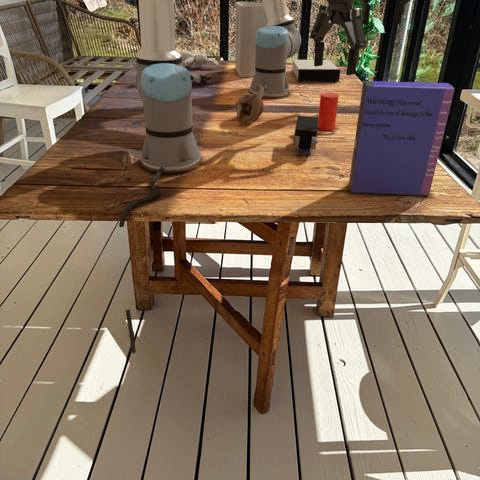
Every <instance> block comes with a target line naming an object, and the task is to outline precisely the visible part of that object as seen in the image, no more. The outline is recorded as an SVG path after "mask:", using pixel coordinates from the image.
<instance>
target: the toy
mask: <svg viewBox="0 0 480 480" xmlns="http://www.w3.org/2000/svg"><path fill="white" fill-rule="evenodd" d="M178 52H179V53H180V54H181V55H182V67H184V68H186V67H187V66H191V65H192V64H194V67H197V69H198V68H199V69H200V68H202V65H207V63H210V64H213V65H214V66H215V67H218V66H219V65H220V63H219V62H218V61H217V60H216V59H214V58H208V56H207V55H206V54H204V53H202V52H201V51H197V52H192V51H189V50H183V51H178Z"/></svg>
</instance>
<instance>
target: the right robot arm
mask: <svg viewBox="0 0 480 480" xmlns="http://www.w3.org/2000/svg"><path fill="white" fill-rule="evenodd" d="M357 1H358V2H359V3H361V4H362V7H361V9H362V13H361V15H362V23H363V26H369V22H370V16H371V9H372V4H371V1H372V0H357ZM398 1H399V2H397V3H396V8H395V14H394V21H393V23H394V24H397V25H401V23H402V16H403V14H404V12H405V7H406V5H407V4H408V3H409V2H411V1H412V0H398ZM262 3H263V5H264V10H265V14H266V19H267V23H266V25H265V27H263V28H260V29H259V30H258V31H257V34H256V40H255V41H256V55H255V74H254V76H252V81H251V84H250V86H249V93H250V94H255V95H257V93H258V91H259V90H257V89H256V85H258V84H260V85H262V86H263V88H264V94H263V96H262V98H261V99H281V98H284V97H288V96H289V95H290V87H289V86H290V85H289V82H288V78H287V73H286V71H287V60H288V59H291V58H292V57H293V56H295V55H296V54H297V53H298V51H299V50H300V48H301V43H302V36H301V33H300V31H299V30H298V29H297V28H296V25H295V19H294V17H292V16H291V15H290V14H289V9H288V5H287V0H262Z"/></svg>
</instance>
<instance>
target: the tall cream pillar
mask: <svg viewBox="0 0 480 480" xmlns="http://www.w3.org/2000/svg"><path fill="white" fill-rule="evenodd" d="M266 23H267V19H266V14H265V10H264V5H263V2H252V1H235V59H234V60H235V62H234V63H235V65H234V66H235V68H234V69H235V71H236V73H237V75H238V77H239V78H253V77H254V74H255V55H256V41H255V40H256V34H257V31H258V30H259V29H260V28H263V27H265V25H266Z"/></svg>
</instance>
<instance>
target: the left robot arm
mask: <svg viewBox="0 0 480 480" xmlns="http://www.w3.org/2000/svg"><path fill="white" fill-rule="evenodd" d="M355 1H356V0H326V2H327V3H324V4H323V3H322V4H319V8H318V13H317V16H316V19H315V21H314V24H313V27H312V29H311V32H310V34H309V39H312V40H313V42H314V45H313V47H314V48H313V53H314V58H313V60H314V66H322V65H323V60H324V54H325V37H326V36H327V34H328V33H329V31H330V30H331V29H332V27H333V26H334V25H337V26H340V27H341V28H342V29H343V31H344V34H345V35H346V38H347V41H348V43H349V45H350V48H349V49H348V56H347V64H346V72H345V73H346V74H345V75H346V76H352V75H356V72H357V64H358V62H359V59H360V52H361V49H364V48H367V46H368V43H367V39H366V34H365V33H366V32H365V29H364V24H363V23H362V21H363V18H362V7H355V8H353V5H354V3H355ZM138 14H139V28H140V29H139V30H140V31H139V32H140V43H141V44H140V46H141V47H140V49H139V50H138V51H137V53H136V54H135V60H136V77H135V85H136V89H137V92H138V94H139V95H140V98H141V102H142V105H143V115H144V125H145V138H144V142H143V146H142V150H141V154H140V162H141V166H142V168H144V169H145V170H146V171H149V172H151V173H156V174H155V175H154V176H153V178H152V179H151V181H150V188H151V190H152V191H153V193H152V194H150V195H147V196H144V197H141V198H138V199H135V200H133V201H132V202H130V203H129V204H128V205H126V206H125V207H124V208H123V210H122V211H121V215H120V218H119V224H118V228H123V227H125V222H126V219H127V216H128V215H127V214H128V212H129V211H130V210H132V209H133V208H134V207H135V206H137V205H140V204H141V203H145V202H149V201H152V200H153V199H155V198H157V196H159V190H158V188H157V187H156V186H155V184H156V182H157V181H158V179H159V178H160V176H161V175H162V174H163V175H164V174H165V175H169V174H170V175H172V174H173V175H175V174H182V173H187V172H190V171H193V170H195V169H197V168H198V167H199V166H201V163H202V155H201V151H200V149H199V146H198V143H199V144H200V136H198V135H196V134H194V130H193V129H194V126H193V101H192V100H193V99H192V98H193V97H192V87H193V82H191V78H190V74H191V73H190V72H189V70H188V69H187V68H186V67H183V66H182V55H181V54H180V53H179V51H178V50H177V48H176V18H175V17H176V15H175V0H138ZM131 313H132V312H131V309H130V308H129V309H125V316H126V323H127V329H128V335H129V342H130V351H131V353H132V354H136V352H137V350H136V342H135V341H136V340H135V334H134V328H133V320H132V314H131Z"/></svg>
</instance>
